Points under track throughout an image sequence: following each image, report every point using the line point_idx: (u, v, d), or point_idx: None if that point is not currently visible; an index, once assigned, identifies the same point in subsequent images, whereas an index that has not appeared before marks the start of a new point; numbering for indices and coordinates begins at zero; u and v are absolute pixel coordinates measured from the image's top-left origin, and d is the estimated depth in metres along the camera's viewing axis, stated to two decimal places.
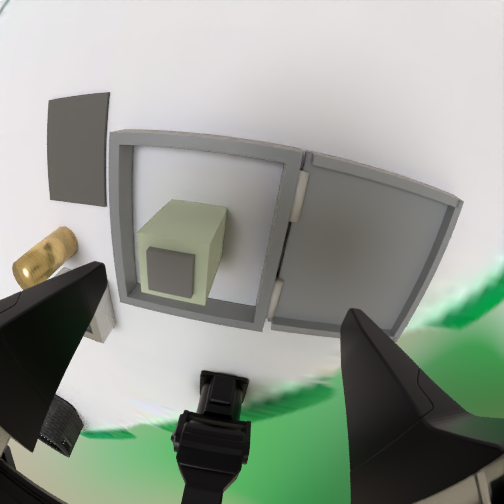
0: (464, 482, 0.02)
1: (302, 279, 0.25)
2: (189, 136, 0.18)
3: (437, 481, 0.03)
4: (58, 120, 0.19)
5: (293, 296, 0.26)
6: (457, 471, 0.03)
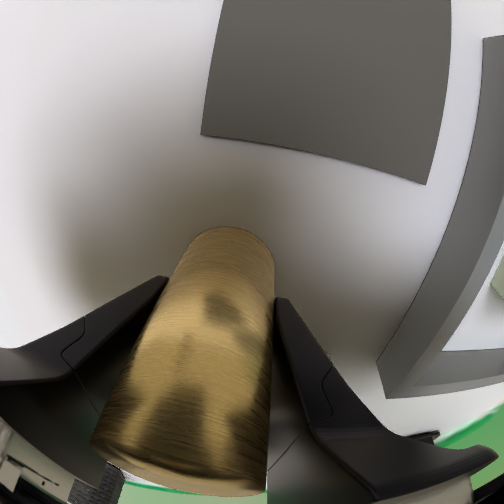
0: None
1: None
2: None
3: None
4: None
5: None
6: (334, 501, 0.02)
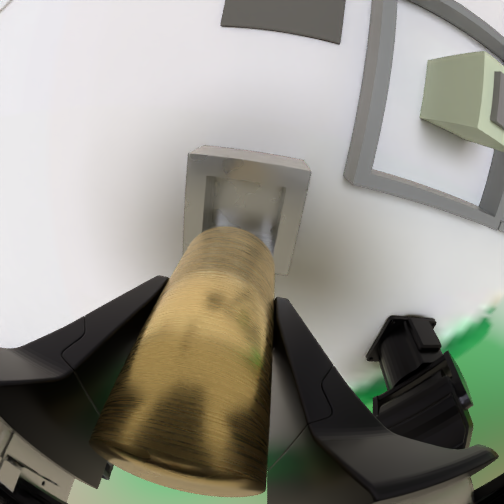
0: None
1: None
2: (464, 7, 0.08)
3: None
4: None
5: None
6: (334, 501, 0.02)
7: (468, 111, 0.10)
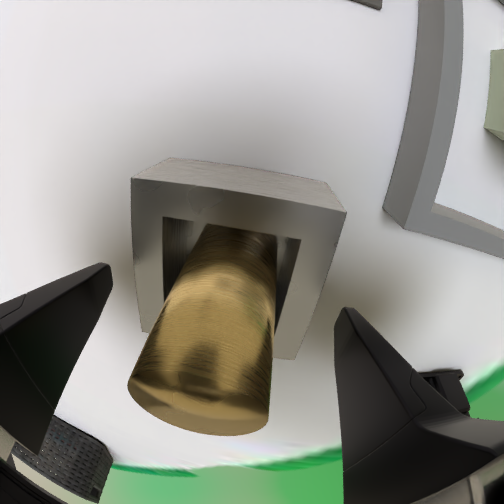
0: (456, 486, 0.02)
1: None
2: None
3: (428, 484, 0.03)
4: None
5: None
6: (448, 474, 0.03)
7: None
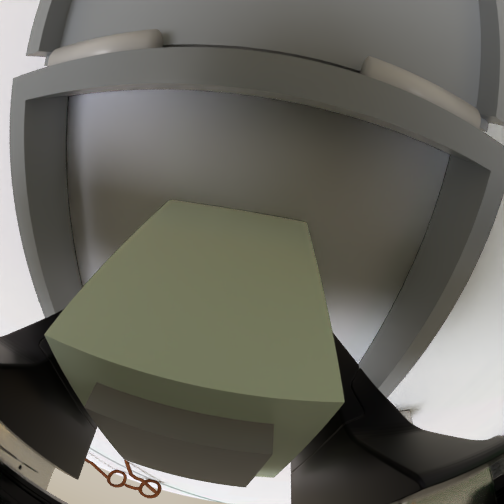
0: None
1: (360, 12, 0.05)
2: (32, 273, 0.09)
3: (357, 501, 0.03)
4: None
5: (420, 45, 0.05)
6: (375, 495, 0.02)
7: None
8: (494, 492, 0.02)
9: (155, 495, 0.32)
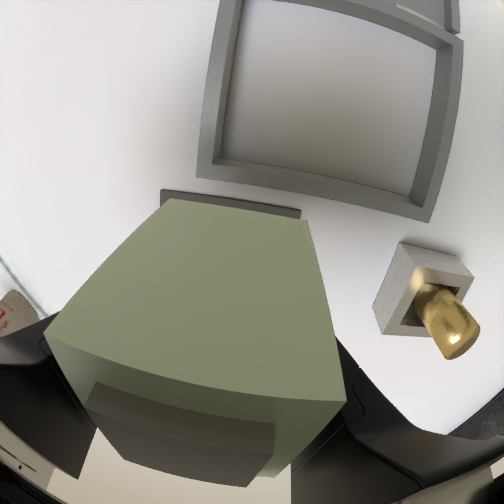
0: None
1: None
2: (208, 76, 0.14)
3: (357, 501, 0.03)
4: None
5: (414, 2, 0.10)
6: (375, 495, 0.02)
7: None
8: (494, 492, 0.02)
9: None
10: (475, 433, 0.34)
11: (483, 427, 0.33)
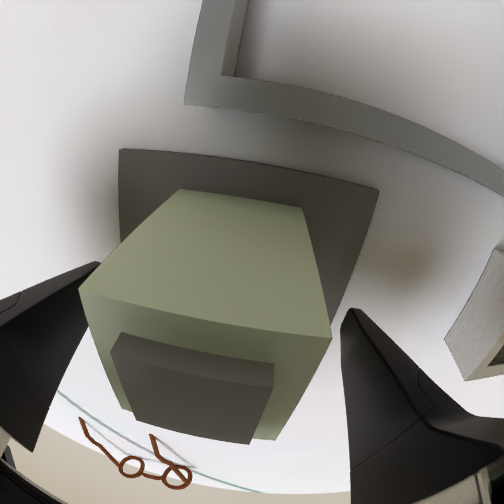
0: (464, 482, 0.02)
1: None
2: None
3: (437, 481, 0.03)
4: None
5: None
6: (457, 471, 0.03)
7: None
8: None
9: (185, 485, 0.27)
10: None
11: None
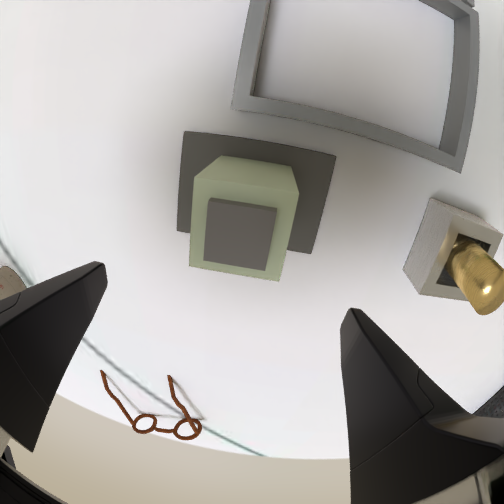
0: (464, 482, 0.02)
1: None
2: (248, 13, 0.12)
3: (437, 481, 0.03)
4: None
5: None
6: (457, 471, 0.03)
7: None
8: None
9: (195, 435, 0.35)
10: None
11: (496, 414, 0.31)
